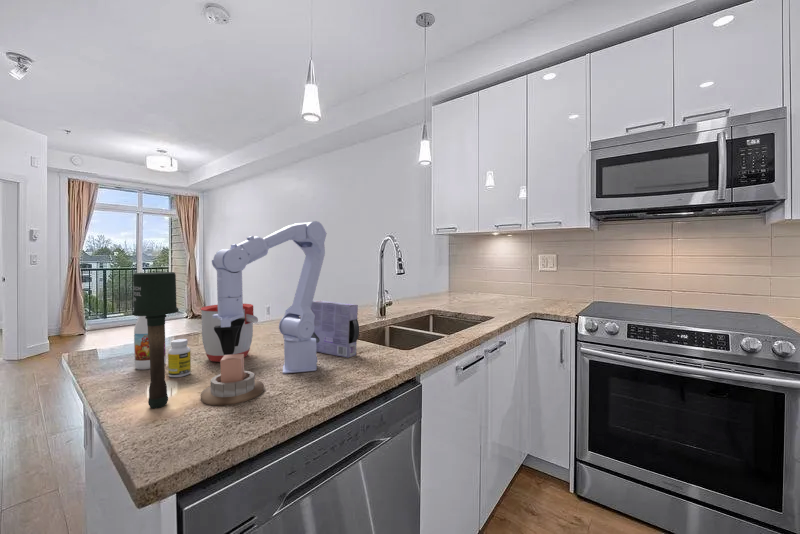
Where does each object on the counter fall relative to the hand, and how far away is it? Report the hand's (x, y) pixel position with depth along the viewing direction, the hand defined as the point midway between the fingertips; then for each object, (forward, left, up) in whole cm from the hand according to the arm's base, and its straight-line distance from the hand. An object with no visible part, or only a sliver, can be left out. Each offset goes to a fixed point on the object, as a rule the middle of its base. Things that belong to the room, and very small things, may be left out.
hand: (231, 350), depth 89 cm
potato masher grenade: (+14, +6, -10) cm, 18 cm away
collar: (-1, +3, -10) cm, 10 cm away
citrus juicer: (+5, -30, -10) cm, 32 cm away
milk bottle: (+27, -27, -10) cm, 39 cm away
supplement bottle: (+16, -16, -10) cm, 25 cm away
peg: (-1, +3, -9) cm, 9 cm away
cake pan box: (-28, -26, -10) cm, 39 cm away
